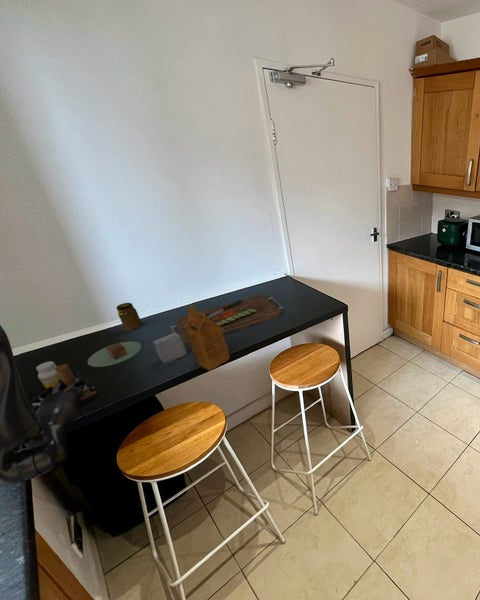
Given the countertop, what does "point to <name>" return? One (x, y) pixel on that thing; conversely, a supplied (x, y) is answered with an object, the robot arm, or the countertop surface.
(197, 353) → the coffee package
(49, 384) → the supplement bottle
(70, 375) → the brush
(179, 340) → the medicine box
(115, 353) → the reddish brown cube
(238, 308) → the chopping board
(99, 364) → the turntable plate
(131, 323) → the condiment
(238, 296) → the countertop surface
